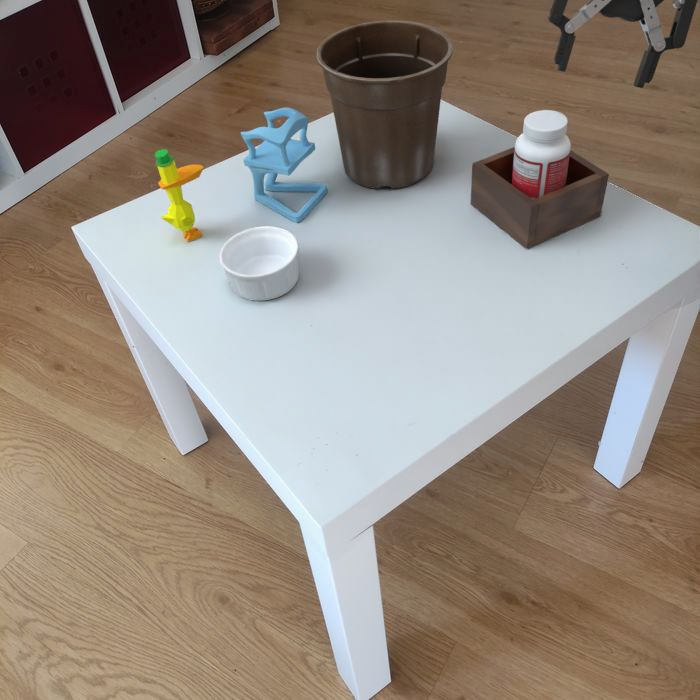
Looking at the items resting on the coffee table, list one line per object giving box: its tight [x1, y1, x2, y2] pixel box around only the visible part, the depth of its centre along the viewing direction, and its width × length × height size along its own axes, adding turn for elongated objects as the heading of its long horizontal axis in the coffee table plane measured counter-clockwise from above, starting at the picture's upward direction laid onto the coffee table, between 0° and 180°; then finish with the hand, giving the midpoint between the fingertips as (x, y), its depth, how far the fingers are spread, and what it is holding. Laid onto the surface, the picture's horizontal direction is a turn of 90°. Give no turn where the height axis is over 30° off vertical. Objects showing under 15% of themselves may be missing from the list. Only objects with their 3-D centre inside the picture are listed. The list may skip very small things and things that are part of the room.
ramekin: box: [218, 225, 300, 302], centre depth 81 cm, size 9×9×4 cm
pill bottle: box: [512, 109, 572, 200], centre depth 83 cm, size 6×6×11 cm
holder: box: [470, 146, 610, 250], centre depth 86 cm, size 11×11×6 cm
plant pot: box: [316, 20, 454, 190], centre depth 91 cm, size 16×16×16 cm
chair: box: [240, 107, 329, 223], centre depth 89 cm, size 8×8×12 cm
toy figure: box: [154, 148, 204, 243], centre depth 86 cm, size 7×4×12 cm, turn 125°
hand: (599, 78), depth 79 cm, fingers open, 8 cm apart
